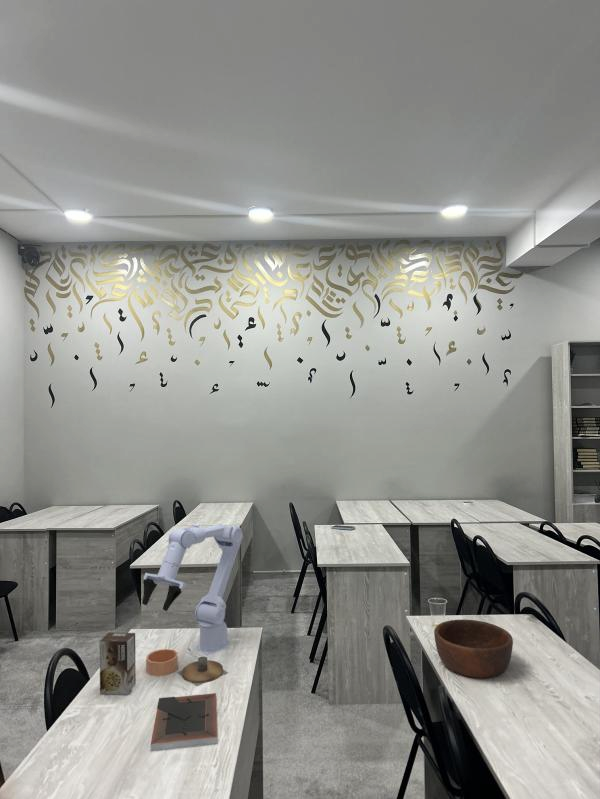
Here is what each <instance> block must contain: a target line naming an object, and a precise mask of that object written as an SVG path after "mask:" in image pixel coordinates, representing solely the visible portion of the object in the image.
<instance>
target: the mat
mask: <svg viewBox="0 0 600 799" xmlns="http://www.w3.org/2000/svg"><path fill="white" fill-rule="evenodd" d="M176 674H178V675H179V676H181V677H182V670H180V671H179V670H178V671H177V672H176ZM227 674H229V672H228V671H226V670H225V669H223V673H222V675H221V676H220V677H222V676H224V675H227ZM190 683H192V684H193V685H194V686H195V687H198V686H200V685H203V684H205V683H207V682H203V683H194V682H190Z"/></svg>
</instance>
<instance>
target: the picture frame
mask: <svg viewBox="0 0 600 799" xmlns="http://www.w3.org/2000/svg"><path fill="white" fill-rule="evenodd" d="M156 706H157V707H156V714H155V718H154V724H153V728H152V734H151V740H150V752H153V751H154V752H155V751H161V750H163V749H164V750H171V749H180V748H189V747H188V746H191V747H198V746H197V745H200V746H208V745H215V744H218V720H217V719H218V718H217V713H218V711H217V693H216V692H215V693H205V694H194V695H192V694H191V695H185V696H184V695H181V696H168V697H167V696H166V697H159V698H158V701H157V705H156Z"/></svg>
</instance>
